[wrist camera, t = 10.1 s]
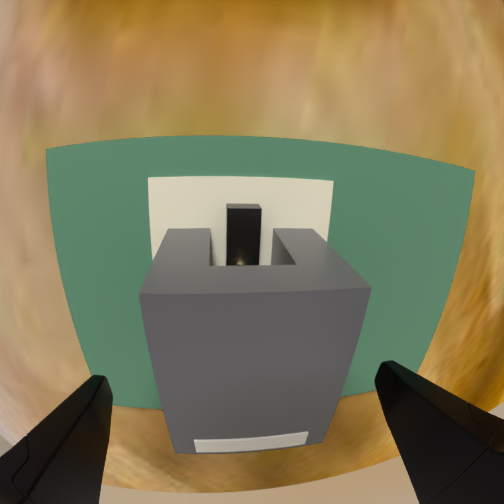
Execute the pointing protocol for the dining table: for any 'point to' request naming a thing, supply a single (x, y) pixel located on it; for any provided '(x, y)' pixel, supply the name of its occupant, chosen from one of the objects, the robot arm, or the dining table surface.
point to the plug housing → (250, 341)
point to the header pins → (243, 234)
